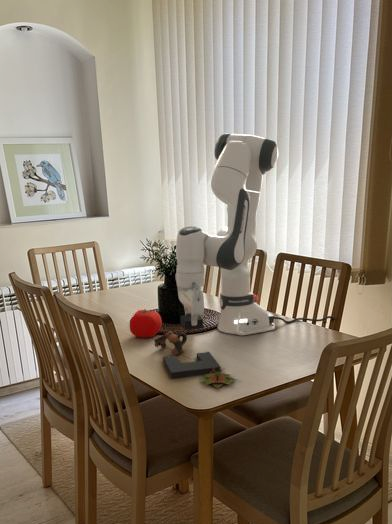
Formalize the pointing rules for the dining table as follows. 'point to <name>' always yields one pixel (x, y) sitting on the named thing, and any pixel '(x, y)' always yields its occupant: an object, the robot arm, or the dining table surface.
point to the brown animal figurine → (172, 341)
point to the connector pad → (187, 322)
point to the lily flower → (217, 378)
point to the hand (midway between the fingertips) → (191, 321)
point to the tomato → (145, 323)
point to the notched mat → (191, 366)
